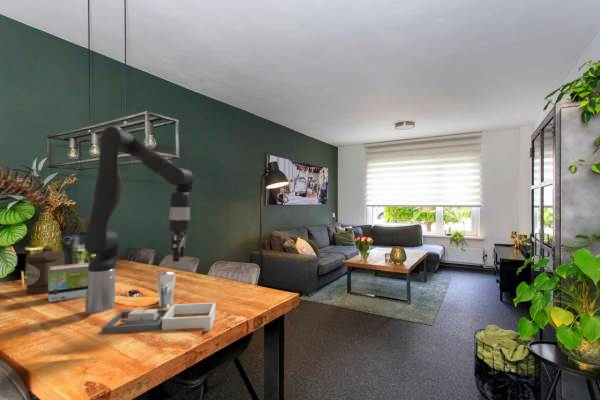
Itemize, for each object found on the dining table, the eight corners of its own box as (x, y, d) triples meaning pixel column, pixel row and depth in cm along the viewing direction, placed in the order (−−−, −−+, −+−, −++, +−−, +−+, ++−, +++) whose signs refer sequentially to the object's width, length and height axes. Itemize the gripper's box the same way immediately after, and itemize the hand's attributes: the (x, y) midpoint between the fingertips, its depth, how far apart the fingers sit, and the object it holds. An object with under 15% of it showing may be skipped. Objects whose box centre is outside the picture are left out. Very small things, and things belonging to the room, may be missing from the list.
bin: (161, 333, 101) (162, 319, 101) (173, 317, 116) (173, 304, 116) (210, 330, 104) (210, 316, 104) (215, 315, 118) (215, 302, 118)
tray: (101, 337, 98) (102, 327, 98) (121, 320, 113) (121, 311, 113) (158, 334, 101) (158, 324, 101) (169, 317, 115) (170, 309, 115)
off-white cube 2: (142, 324, 105) (142, 313, 105) (145, 320, 109) (146, 309, 109) (154, 324, 106) (154, 312, 106) (157, 319, 110) (157, 308, 110)
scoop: (118, 328, 103) (118, 321, 103) (125, 322, 109) (125, 315, 109) (155, 326, 105) (155, 319, 105) (160, 320, 111) (160, 313, 111)
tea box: (48, 303, 130) (49, 269, 130) (47, 297, 138) (48, 266, 138) (90, 296, 140) (90, 265, 140) (87, 291, 148) (87, 261, 148)
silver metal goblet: (153, 310, 123) (153, 274, 123) (165, 304, 130) (166, 270, 130) (166, 312, 121) (166, 275, 121) (178, 306, 127) (179, 271, 127)
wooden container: (24, 290, 149) (25, 246, 149) (61, 284, 160) (62, 243, 161) (29, 296, 139) (29, 249, 140) (68, 289, 151) (68, 246, 151)
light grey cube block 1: (128, 325, 104) (128, 314, 104) (132, 321, 108) (132, 310, 108) (140, 324, 105) (140, 313, 105) (144, 320, 109) (144, 309, 109)
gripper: (173, 217, 124) (172, 256, 124) (164, 219, 110) (163, 263, 110) (192, 217, 125) (191, 256, 125) (186, 219, 111) (184, 263, 111)
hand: (178, 259), depth 117 cm, fingers open, 8 cm apart
